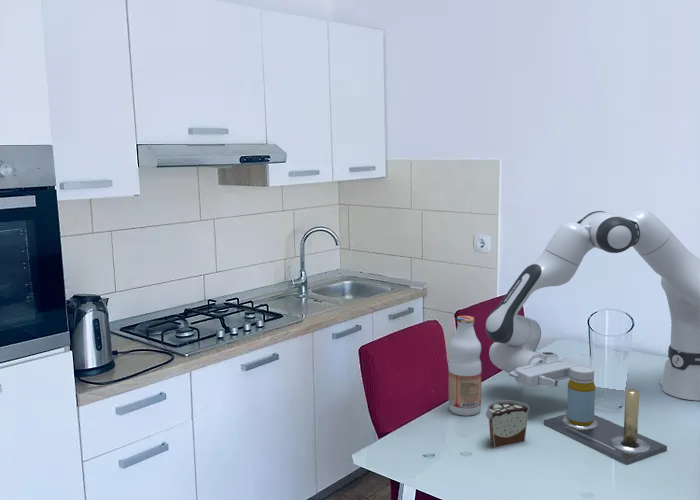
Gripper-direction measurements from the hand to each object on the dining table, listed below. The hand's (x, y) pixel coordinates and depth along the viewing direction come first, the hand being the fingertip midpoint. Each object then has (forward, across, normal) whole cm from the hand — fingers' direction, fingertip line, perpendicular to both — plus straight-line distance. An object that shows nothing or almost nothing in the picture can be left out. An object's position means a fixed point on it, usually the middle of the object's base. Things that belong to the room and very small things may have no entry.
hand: (568, 380), depth 178 cm
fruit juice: (-20, -20, +12) cm, 31 cm away
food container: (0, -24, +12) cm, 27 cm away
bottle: (+4, 0, +10) cm, 11 cm away
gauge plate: (+12, 0, +12) cm, 17 cm away
